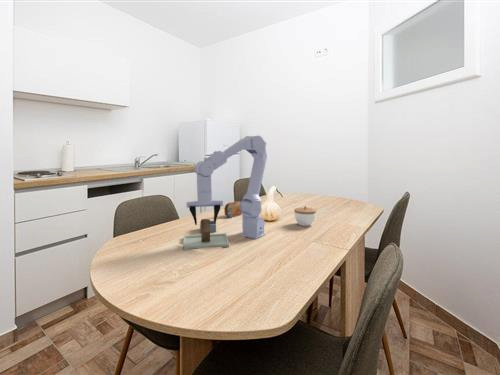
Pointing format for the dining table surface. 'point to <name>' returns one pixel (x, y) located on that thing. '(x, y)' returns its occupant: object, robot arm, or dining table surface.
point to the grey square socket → (212, 226)
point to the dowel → (205, 230)
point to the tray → (196, 243)
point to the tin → (233, 209)
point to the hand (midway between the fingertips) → (205, 223)
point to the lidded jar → (305, 216)
